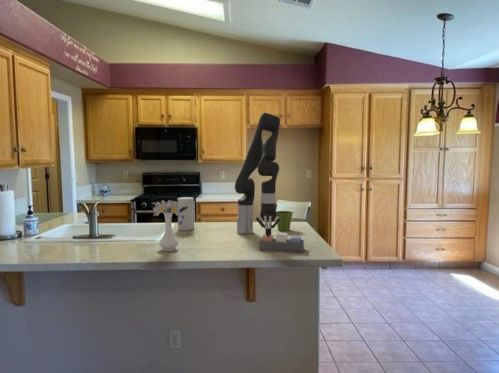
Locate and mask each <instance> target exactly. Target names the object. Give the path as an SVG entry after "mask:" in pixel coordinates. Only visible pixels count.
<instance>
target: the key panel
mask: <svg viewBox="0 0 499 373" xmlns="http://www.w3.org/2000/svg"><path fill="white" fill-rule="evenodd" d="M258 251H264V252H266V251H267V252H280V253H281V252H283V253H299V254H300V253H301V254H303V253H304V251H305V239H301V243H290V239H289V238H287V243H285V242H276V238H274V242H265V241H262V237H261V238H260V240H259V241H258Z"/></svg>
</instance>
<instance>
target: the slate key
mask: <svg viewBox="0 0 499 373" xmlns="http://www.w3.org/2000/svg"><path fill="white" fill-rule="evenodd" d="M301 240H302V236H301V235H291V236H290V243H301Z"/></svg>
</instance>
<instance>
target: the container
mask: <svg viewBox="0 0 499 373" xmlns="http://www.w3.org/2000/svg"><path fill="white" fill-rule="evenodd" d="M194 198H195V197H192V196H191V197H190V196H187V197H186V196H182V197H177V205H179V206H181V207H182V209H180V210H179V211H180V212H181V213H179V216H177V225H178V226H177V229H178V230H179V231H184V232H186V231H192V230H195V201H194V200H195V199H194Z"/></svg>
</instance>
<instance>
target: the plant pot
mask: <svg viewBox="0 0 499 373" xmlns="http://www.w3.org/2000/svg"><path fill="white" fill-rule="evenodd" d="M276 214H277V216H278V217H279V218H281V220H280V221H279V222H278V223H277V225H276V226H277V231H282V232H288V231H290V229H291V222H292V217H293V215H294V212H293V211H290V210H276Z"/></svg>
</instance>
